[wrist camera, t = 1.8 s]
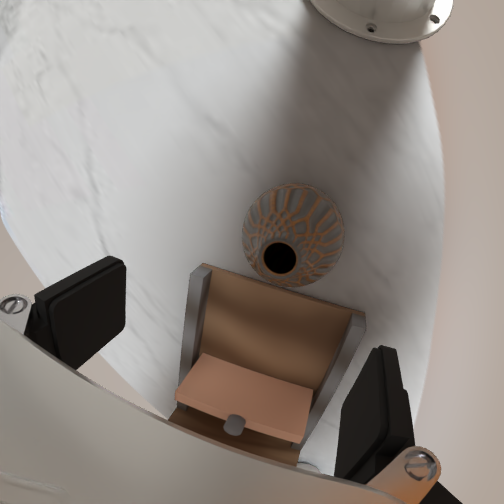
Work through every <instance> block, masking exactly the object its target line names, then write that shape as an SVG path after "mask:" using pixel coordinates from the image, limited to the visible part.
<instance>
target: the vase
mask: <svg viewBox="0 0 504 504" xmlns="http://www.w3.org/2000/svg"><path fill="white" fill-rule="evenodd" d="M242 242H243V248H244V252H245V255H246V257H247V259H248V261H249V263H250V265H251V266H252V268H253V269H254V270H255V271H256V272H257V273H258V274H259V275H260V276H261V277H263V278H264V279H265V280H267V281H269V282H271V283H273V284H276V285H279V286H283V287H301V286H305V285H308V284H311V283H313V282H315V281H317V280H319V279H321V278H322V277H323V276H325V275H326V274H327V273H328V272H329V271H330V270H331V269H332V268H333V266H334V265H335V264H336V262H337V260H338V259H339V257H340V254H341V252H342V248H343V244H344V225H343V220H342V217H341V214H340V212H339V210H338V208H337V207H336V205H335V204H334V202H333V201H332V200H331V199H330V198H329V197H328V196H327V195H326V194H325V193H323V192H322V191H321V190H319V189H317V188H315V187H312V186H310V185H306V184H301V183H290V184H283V185H279V186H277V187H274V188H272V189H270V190H268V191H267V192H265V193H264V194H262V195H261V196H260V197H259V198H258V199H257V200H256V201H255V202H254V203H253V205H252V206H251V208H250V209H249V211H248V213H247V215H246V218H245V221H244V225H243V231H242Z"/></svg>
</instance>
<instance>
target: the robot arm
mask: <svg viewBox="0 0 504 504" xmlns="http://www.w3.org/2000/svg"><path fill="white" fill-rule="evenodd" d="M310 2H311V3H312V4H313V5H314V7H315V8H316V9H317V10H318V11H319V13H321V14H322V15H323V16H324V17H325V18H327V19H328V20H329V21H330V22H332V23H333V24H335V25H336V26H338V27H340V28H341V29H343V30H345V31H347V32H349V33H352V34H354V35H356V36H358V37H362V38H365V39H368V40H371V41H376V42H382V43H388V44H405V43H412V42H418V41H420V40H423V39H426V38H429V37H430V36H432V35H433V34H435V33H436V32H438V31H439V30H440V29H441V28H442V27H443V26H444V25H445V23H446V22H447V20H448V19H449V17H450V15H451V12H452V9H453V0H310ZM431 21H433V22H434V23H435V24H434V23H433V22H431ZM369 29H371V30H373V31H374V33H372V32H369V31H368V30H369ZM34 296H35V303H34V304H32V302H31V300H30V299H29V298H28V297H27V296H24V295H20V294H12V295H8V296H5V297H3V298H2V299H0V504H462V503H461V502H460V501H459V500H458V499H457V498H455V497H454V496H453V495H452V494H451V493H450V492H449V491H448V490H447V489H446V488H445V487H444V486H442V485H441V484H440V483H439V482H438V481H437V480H438V479H439V477H440V475H441V465H440V462H439V460H438V459H437V457H436V456H435V455H434V454H433V453H432V452H431V451H430V450H428V449H426V448H423V447H420V446H415V440H414V432H413V424H412V417H411V411H410V404H409V398H408V393H407V391H406V390H405V389H403V384H402V378H401V372H400V367H399V361H398V356H397V351H396V349H394V348H390V347H386V346H383V345H380V346H379V347H378V349H377V348H373V349H372V351H371V353H370V355H369V357H368V359H367V360H366V362H365V364H364V366H363V368H362V370H361V372H360V374H359V376H358V378H357V379H356V381H355V383H354V385H353V387H352V388H351V390H350V392H349V394H348V396H347V397H346V399H345V401H344V403H343V406H342V409H341V419H340V429H339V439H338V448H337V456H336V464H335V472H334V476H330V475H326V474H322V473H318V472H314V471H310V470H306V469H302V468H298V467H294V466H291V465H287V464H284V463H281V462H277V461H274V460H271V459H267V458H264V457H261V456H258V455H255V454H251V453H248V452H245V451H242V450H240V449H237V448H234V447H231V446H228V445H226V444H223V443H220V442H218V441H215V440H212V439H210V438H207V437H205V436H202V435H200V434H198V433H195V432H193V431H190V430H188V429H186V428H183V427H181V426H179V425H177V424H174V423H172V422H170V421H168V420H166V419H163V418H161V417H159V416H157V415H155V414H153V413H151V412H149V411H147V410H145V409H143V408H141V407H139V406H137V405H135V404H133V403H131V402H129V401H127V400H126V399H124V398H122V397H120V396H118V395H116V394H115V393H113V392H111V391H109V390H107V389H106V388H104V387H102V386H101V385H99V384H97V383H96V382H94V381H92V380H91V379H89V378H87V377H86V376H84V375H82V374H81V373H79V372H78V371H76V370H77V369H78V368H79V367H80V366H81V365H83V364H84V363H85V362H86V361H87V360H88V359H90V358H91V357H92V356H93V355H94V354H95V353H96V352H98V351H99V350H100V349H101V348H103V347H104V346H105V345H106V344H107V343H108V342H110V341H111V340H112V339H113V338H114V337H115V336H117V335H118V334H119V333H120V332H121V331H122V330H123V329H124V327H125V304H126V266H125V265H124V262H123V261H122V260H120V259H118V258H115V257H113V256H107V257H105V258H103V259H101V260H99V261H97V262H95V263H93V264H91V265H89V266H87V267H85V268H83V269H81V270H79V271H78V272H76V273H74V274H72V275H70V276H68V277H66V278H64V279H62V280H60V281H59V282H57V283H55V284H53V285H51V286H49V287H47V288H46V289H44V290H42V291H40V292H39V293H37V294H35V295H34Z"/></svg>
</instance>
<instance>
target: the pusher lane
mask: <svg viewBox="0 0 504 504" xmlns="http://www.w3.org/2000/svg"><path fill="white" fill-rule="evenodd" d="M365 330H366V320H365V313H363V312H359V311H356V310H353V309H349V308H346V307H342V306H339V305H336V304H332V303H329V302H326V301H322V300H319V299H316V298H312V297H309V296H306V295H302V294H299V293H296V292H293V291H289V290H286V289H283V288H280V287H277V286H273V285H270V284H267V283H264V282H261V281H257V280H254V279H251V278H248V277H245V276H242V275H239V274H235V273H232V272H229V271H226V270H223V269H220V268H217V267H214V266H211V265H208V264H204V263H202V264H201V265H200V266H199V267H198V268H196V269H195V270H194V271H193V272H192V273H190V280H189V288H188V296H187V304H186V313H185V322H184V331H183V340H182V350H181V361H180V372H179V384H178V387H179V386H180V384H181V383H182V381H183V380H184V379H185V377H186V376H187V374H188V373H189V372H190V370H191V369H192V367H193V366H194V365H195V363H196V362H197V360H198V359H199V358H200V356H201V355H202V353H205V354H208V355H210V356H213V357H216V358H218V359H221V360H224V361H226V362H229V363H232V364H235V365H237V366H240V367H243V368H246V369H249V370H252V371H255V372H258V373H261V374H264V375H267V376H270V377H273V378H276V379H279V380H283V381H286V382H289V383H292V384H296V385H299V386H302V387H306V388H309V389H313V395H312V400H311V405H310V410H309V415H308V420H307V424H306V429H305V433H304V437H303V439H302V440H301V442H300V444H298V443H295V442H291V441H287V440H284V439H280V438H277V437H274V436H270V435H267V434H264V433H261V432H258V431H255V430H252V429H249V428H246V427H244V428H243V431H242V433H241V434H240V435H238V436H234V435H230V434H228V433H227V432H226V431H225V430H224V428H223V427H224V424H225V422H226V420H223V419H221V418H218V417H215V416H213V415H210V414H208V413H205V412H203V411H200V410H198V409H195V408H193V407H191V406H188V405H186V404H184V403H181V402H179V401H177V408H176V409H175V411H174V412H173V413H172V415H171V416H170V418H169V419H168V421H170V422H172V423H174V424H177V425H179V426H181V427H183V428H186V429H188V430H190V431H193V432H195V433H198V434H200V435H202V436H205V437H207V438H210V439H212V440H215V441H218V442H220V443H223V444H226V445H228V446H231V447H234V448H237V449H240V450H242V451H245V452H248V453H251V454H255V455H258V456H261V457H264V458H267V459H271V460H274V461H277V462H281V463H284V464H287V465H291V466H294V467H297V463H298V458H299V454H300V450H301V449H302V447H303V446H304V444H305V443H306V441H307V439H308V438H309V436H310V434H311V433H312V431H313V429H314V428H315V426H316V424H317V423H318V421H319V419H320V418H321V416H322V414H323V412H324V411H325V409H326V407H327V405H328V404H329V402H330V400H331V398H332V396H333V394H334V393H335V391H336V389H337V387H338V385H339V383H340V381H341V380H342V378H343V376H344V374H345V372H346V370H347V368H348V366H349V364H350V362H351V360H352V358H353V356H354V354H355V352H356V350H357V348H358V345H359V343H360V341H361V339H362V337H363V335H364V333H365Z"/></svg>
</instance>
